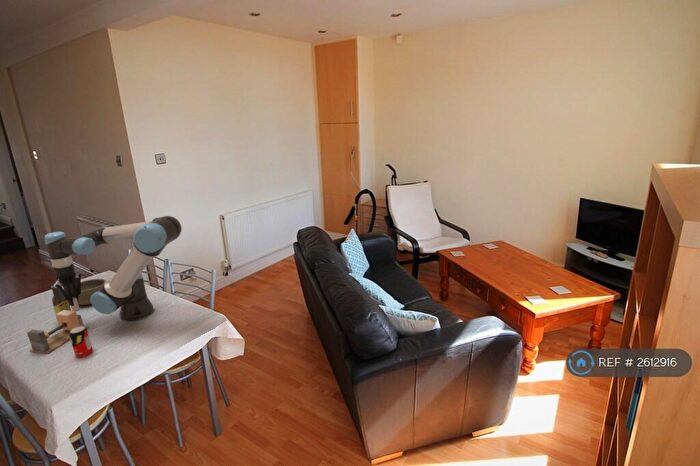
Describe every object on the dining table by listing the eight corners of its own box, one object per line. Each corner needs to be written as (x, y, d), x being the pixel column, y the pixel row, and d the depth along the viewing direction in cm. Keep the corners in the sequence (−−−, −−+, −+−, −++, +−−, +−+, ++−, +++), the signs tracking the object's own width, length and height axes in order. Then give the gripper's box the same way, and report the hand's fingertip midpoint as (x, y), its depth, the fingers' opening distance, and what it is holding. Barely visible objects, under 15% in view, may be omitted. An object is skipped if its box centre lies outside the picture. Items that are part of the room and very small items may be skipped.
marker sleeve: (80, 325, 173) (75, 310, 171) (72, 330, 169) (67, 315, 167) (67, 324, 174) (63, 309, 172) (60, 329, 171) (55, 314, 168)
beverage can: (82, 349, 160) (75, 325, 156) (96, 349, 160) (89, 325, 156) (71, 358, 154) (64, 333, 150) (86, 358, 154) (79, 333, 150)
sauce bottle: (65, 326, 178) (54, 289, 172) (55, 324, 180) (43, 288, 173) (77, 319, 184) (66, 283, 178) (67, 317, 186) (56, 282, 180)
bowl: (102, 290, 214) (98, 275, 211) (116, 298, 204) (112, 282, 201) (68, 302, 201) (63, 286, 198) (80, 312, 191) (75, 294, 188)
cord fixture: (71, 326, 178) (66, 308, 175) (88, 328, 176) (83, 310, 173) (29, 351, 159) (23, 332, 156) (48, 354, 157) (41, 334, 154)
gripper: (69, 259, 174) (81, 303, 182) (42, 270, 162) (56, 316, 170) (82, 260, 173) (94, 304, 180) (56, 271, 161) (69, 318, 168)
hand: (76, 310), depth 175 cm, fingers closed
